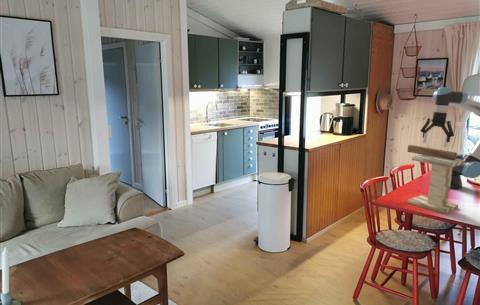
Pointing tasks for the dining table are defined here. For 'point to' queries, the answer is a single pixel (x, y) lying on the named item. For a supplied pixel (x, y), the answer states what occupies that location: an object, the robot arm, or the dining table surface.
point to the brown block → (432, 152)
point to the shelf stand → (437, 184)
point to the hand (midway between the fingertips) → (434, 145)
